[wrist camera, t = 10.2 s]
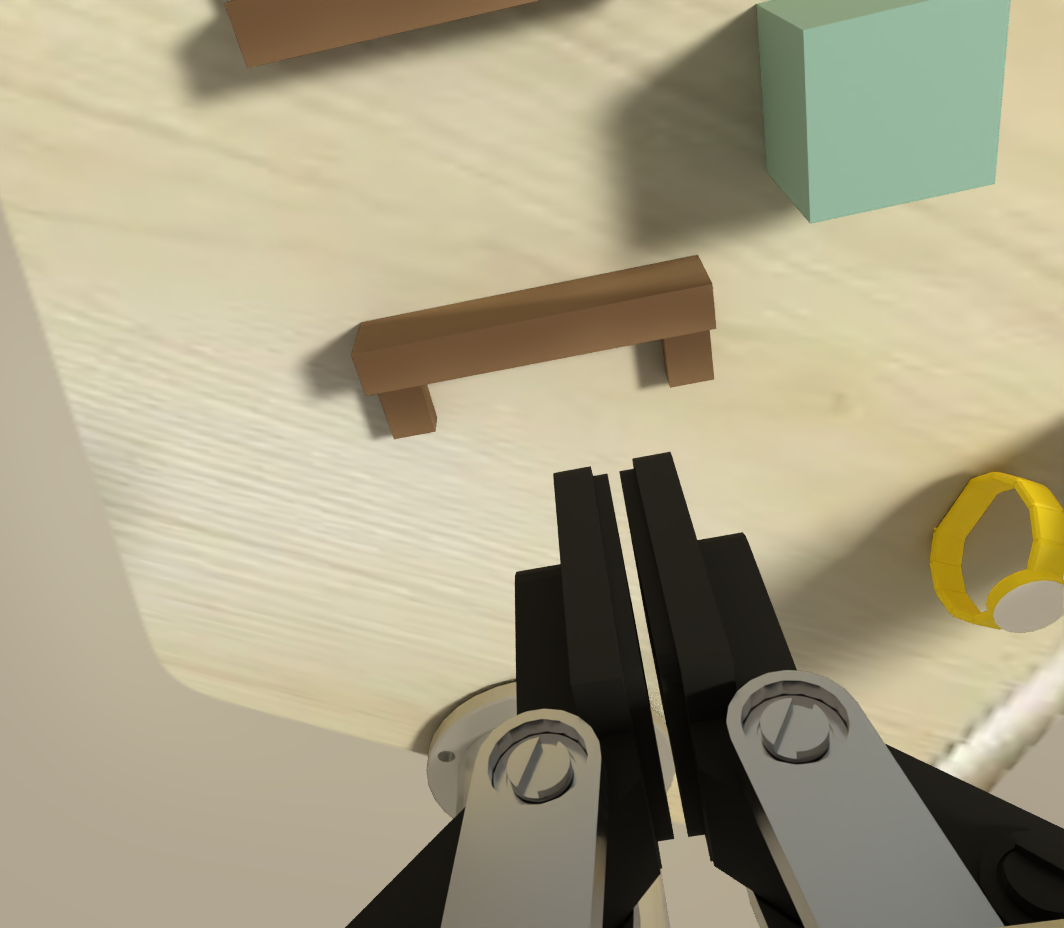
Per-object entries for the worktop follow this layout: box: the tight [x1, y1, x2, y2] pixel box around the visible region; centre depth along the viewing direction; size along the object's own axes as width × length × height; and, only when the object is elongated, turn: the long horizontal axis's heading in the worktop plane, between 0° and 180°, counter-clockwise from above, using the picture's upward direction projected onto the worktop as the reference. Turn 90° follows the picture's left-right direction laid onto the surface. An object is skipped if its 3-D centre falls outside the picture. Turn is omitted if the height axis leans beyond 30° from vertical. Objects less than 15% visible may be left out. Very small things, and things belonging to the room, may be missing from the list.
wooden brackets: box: [225, 0, 716, 439], centre depth 27 cm, size 18×12×2 cm
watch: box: [930, 472, 1064, 633], centre depth 34 cm, size 6×3×6 cm, turn 164°
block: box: [756, 0, 1010, 224], centre depth 25 cm, size 5×5×5 cm
